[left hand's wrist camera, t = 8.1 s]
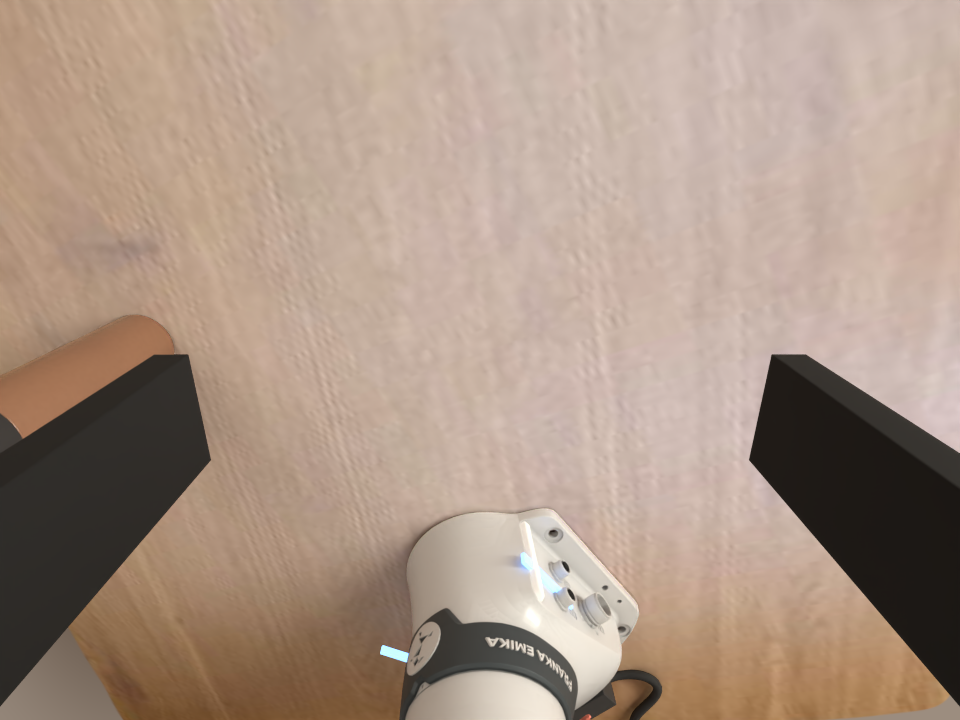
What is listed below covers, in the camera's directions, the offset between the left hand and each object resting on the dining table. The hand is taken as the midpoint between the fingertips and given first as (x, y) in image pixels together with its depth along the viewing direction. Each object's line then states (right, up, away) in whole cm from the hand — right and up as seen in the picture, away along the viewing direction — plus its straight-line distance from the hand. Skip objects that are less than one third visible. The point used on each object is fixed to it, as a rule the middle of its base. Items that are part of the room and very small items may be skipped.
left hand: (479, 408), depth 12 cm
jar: (-26, +2, +29) cm, 39 cm away
